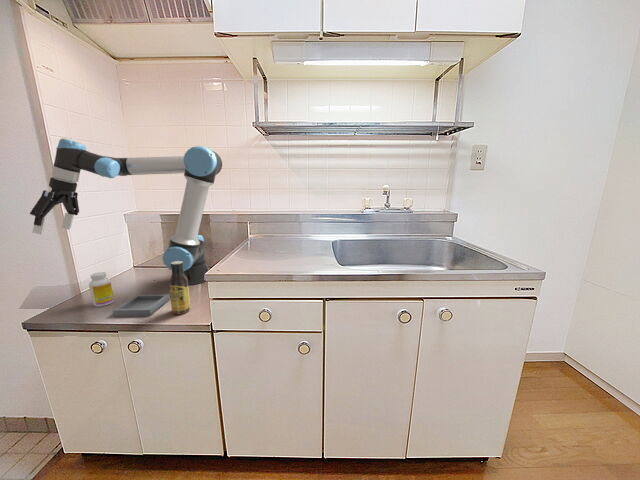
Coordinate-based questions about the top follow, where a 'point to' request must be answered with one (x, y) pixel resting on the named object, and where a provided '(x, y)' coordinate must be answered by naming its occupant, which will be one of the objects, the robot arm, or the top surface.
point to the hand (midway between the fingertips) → (52, 230)
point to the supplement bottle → (101, 290)
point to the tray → (141, 305)
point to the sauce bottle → (179, 289)
